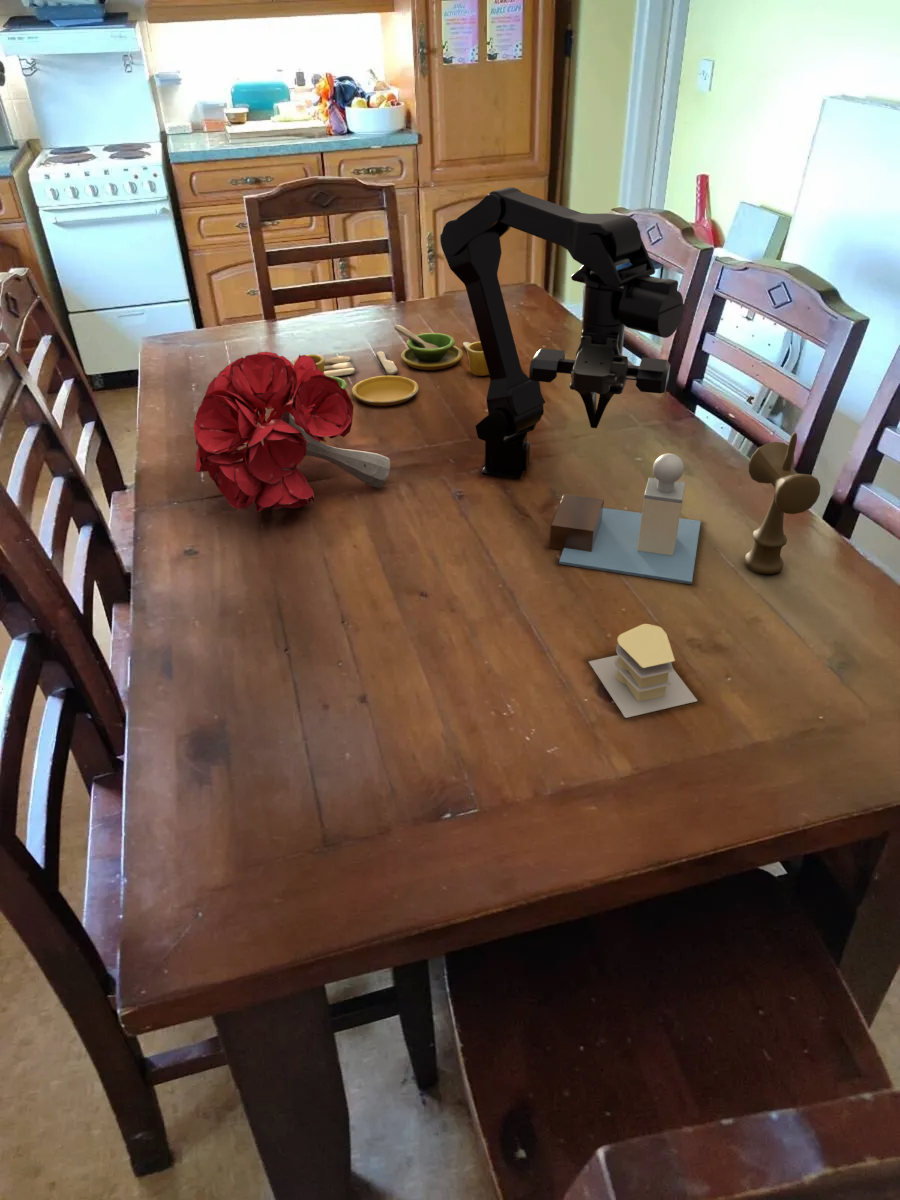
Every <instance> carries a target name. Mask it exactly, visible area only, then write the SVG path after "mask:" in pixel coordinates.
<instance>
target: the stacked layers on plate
mask: <svg viewBox="0 0 900 1200" xmlns="http://www.w3.org/2000/svg"><path fill="white" fill-rule="evenodd" d="M615 652H616V655H611V656H607V657H603V658H598V659H594V660H588V663H589V665H590V666H591V668H592V669H593V671H594V672H595V674H596V675H597V677H598V679H599V680H600V682H601V684H602V685H603V687H604V688H605V690H606V691H607V693H608V694H609V696H610V697H611V698H612V700H613V701H614V703H615V704H616V706H617V707H618V709H619V711H620V712H621V714H622V715H623V717H624V718H625V719H627V718H631V717H636V716H640V715H644V714H649V713H653V712H657V711H662V710H665V709H670V708H674V707H679V706H682V705H686V704H692V703H696V702H699V701H698V699H697V698H696V697H695V695H694V694H693V693H692V691H691V690H690V689H689V687H688V686H687V685H686V683H685V682H684V681H683V680H682V678H681V677H680V676H679V675H678V672H677V671H676V670H675V669H674V667H673V663H672V662H675V661H676V659H675V656H674V653H673V650H672V647H671V643H670V640H669V636H668V634H667V632H666V631H665V630H664V629H663V628H662V626H659V625H654V624H649V623H642V624H640V625H638V626H635V627H633V628H631V629H628V630H626V631H624V632H622V633H621V634H619V635H618V636H617V645H616V648H615Z"/></svg>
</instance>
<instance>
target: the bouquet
mask: <svg viewBox="0 0 900 1200" xmlns="http://www.w3.org/2000/svg"><path fill="white" fill-rule="evenodd" d="M306 355H307V354H302V355H301V354H299V355H298V356H297V357H296V358H297V360H296V362H295V363H294V362H293V363H292V362H291V361H290V360H289V358H286V357H285V356H284V355H279V354H278V353H276V352H271V351H260V352H257V353H252V354H248V355H245V357H239V358H236V360H234V361H232V362H230V363H229V364H228V365H226V366H225V367H224V368H223V369H222V370H220V371H219V373H218V374H217V376H215V377H214V378H213V379H212V380H211V382H210V383H209V384H208V386H207V389H206V391H205V395H204V396H203V399H202V400H201V402H200V403H201V404H200V405H199V406H198V409H197V411H196V414H195V420H194V425H193V433H194V437H195V444H196V446H197V450H196V453H195V459H196V460H195V464H194V473H206V472H208V476H209V478H210V479H211V480H212V481H213V482H214V483H215V486H216V487H217V489H218V491H219V492H220V493H221V494H222V496H223V497H224V498H225V500H226V501H227V503H228V505H229V506H231V507H232V508H234V509H235V510H239V511H241V510H242V509H244V511H246V510H247V509H248V508H249V507H250V506H252V504H254V506H255V511H256V513H258V512H261V511H262V510H264V509H265V510H266V509H267V508H269V509H283V508H290V509H299V508H302V507H304V506H309V505H310V504H311V502H313V503H315V496H314V490H313V489H312V487H311V486H310V483H309V481H308V479H307V477H306V476H305V474H303V473H302V472H301V471H300V470H299V469H298V468H297V467H299V466H300V464H301V463H302V461H303V460H304V458H305V457H313V458H318V459H321V460H323V461H324V460H325V461H326V462H329V463H331V464H333V465H335V466H337V467H338V468H340V469H342V470H343V471H345V472H346V473H348V474H350V475H352V476H353V477H354V478H356V479H357V480H359V481H361V482H362V483H364V484H365V485H368V486H371V487H374V488H378V489H379V488H382V487H383V485H384V484H385V482H386V481H387V478H388V476H389V473H390V469H391V460H390V458H389V457H387V456H385V455H383V454H380V453H377V452H371V451H365V450H358V449H348V448H339V447H335V446H332V445H328V444H325V443H327V441H326V439H325V437H327V438H329V439H334V438H336V437H338V436H340V437H342V438H345V437H346V436H347V435H348V434H350V433H351V429H352V426H353V418H354V408H355V406H354V403H353V400H352V399H351V397H350V395H349V394H348V391H347V390H346V389H343V388H341V387H340V386H339V384H338V381H337V380H335V379H333V378H331V377H328V376H326V375H325V374H324V373H323V372H322V371H320V370H319V369H317V368H316V367H317V365H316V362H315V360H314V358H312V357H309V356H306ZM293 364H294V366H293ZM266 409H267V410H271V411H270V412H269V415H268V416H267V413H268V412H267V410H266ZM266 416H267V418H266ZM262 441H263V443H262ZM323 442H324V443H323Z"/></svg>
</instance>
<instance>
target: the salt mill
mask: <svg viewBox="0 0 900 1200" xmlns="http://www.w3.org/2000/svg"><path fill="white" fill-rule="evenodd" d="M684 465H685V464H684V462H683V460H682V459H681V457H679V455H677V454H675V453H663V454H661V455H660V456H658V457H657V458H656V459H655V461H654V462H653V466H652V472H653V473H652V474H653V475H654V477H648V480H647V483H646V487H645V491H644V495H643V504H642V509H641V513H642V517H641V525H640V532H639V539H638V547H637V551H644V552H650V553H657V554H664V555H671V556H673V555H674V549H675V544H676V538H677V532H678V526H679V520H680V518H681V514H682V508H683V501H684V495H685V489H686V484H687V483H686V481H679V479H681V478H682V476H683V474H684V469H685V466H684Z"/></svg>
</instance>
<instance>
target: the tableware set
mask: <svg viewBox="0 0 900 1200" xmlns="http://www.w3.org/2000/svg"><path fill="white" fill-rule="evenodd" d="M393 329H394V330H395V331H396V332H397V333H399V334H401V335H403V336H405V337H406V338H408V339H407V340H406V346H407V347H408V348H406V349H404V350H403V351H402V352H401V354H400V358H401V360H402V361H403V362H404V363H406V365H407V366H409V367H411V368H414V369H417V370H425V371H436V370H442V369H443V370H444V369H447V368H450V367H453V366H454V365H456V364H457V363H458V362H459V361H460V360H461V359H462V357H463V355H464V354H463V353H464V352H463V350H462V349H461V348H459V347H457V346H456V345H455V343H456V341H455V338H454V337H452V336H451V335H449V334H445V333H441V332H440V333H439V332H426V333H420V334H415V333H413V332H411V331H410V330H409V329H407V328H406V327H404V326H403V325H400V324H394V326H393ZM463 348H465V350H466V354H467V357H468V359H467V360H468V362H469V364H468V365H469V371H470V373H471V374H472V375H474V376H480V377H481V376H482V377H484V376H490V375H489V371H488V368H487V364H486V360H485V357H484V353H483V349H482V345H481V342H480V341H475V342H472V343H471V342H469V341H464V342H463ZM305 355H306V356H309V357H312V358H314V360H315V362H316V365H317V367H316V368H317V369H319V370H320V371H322V372H323V373H324V374H325V375H326V376H328V377H331V378H333V379H335V380H337V381H338V384H339V386H340V387H341V388H343V389H345V390H346V389H347V386H348V384H347V382H346V380H344V379H342V378H341V377H343V376H351V375H355V373H356V369H355V367H354V366H353V364H352V361H351V357H350V356H348V355H337V356H334V357H331V358H329V359H328V358H327V359H325V357H324V356H322V355H320V354H305ZM376 355H377V358H378V360H379V362H380V364H381V366H382V367H383V369H384V372H385V373H386V375H377V376H372V377H368V378H366V379H363V380H360V381H358V382H357V383H356V384H355V385H354V386H352V389H351V393H352V395H353V396H354V397H355V398H356V399H357V400H358V401H360V402H361V403H363V404H366V405H370V406H377V407H383V406H384V407H387V406H388V407H389V406H394V405H395V406H396V405H399V404H403V403H405V402H407V401H409V400H411V399H412V398H413V397H414V396H415V395H417V393H418V391H419V384H418V383H417V382H416V381H415V380H413V379H411V378H408V377H404V376H402V375H401V376H399V375H395V374H398V371H399V369H398V368H397V366H396V364H395V362H394V361H392V360H389V359H387V357H386V354H385V352H384V351H377V352H376ZM297 358H298V357H296V358H295V359H294V360H293V363H292V364H293V366H294V363H295V362H296V360H297Z"/></svg>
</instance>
